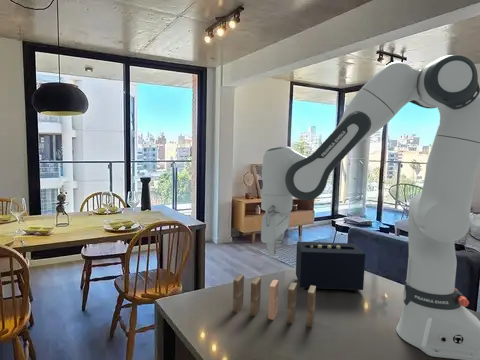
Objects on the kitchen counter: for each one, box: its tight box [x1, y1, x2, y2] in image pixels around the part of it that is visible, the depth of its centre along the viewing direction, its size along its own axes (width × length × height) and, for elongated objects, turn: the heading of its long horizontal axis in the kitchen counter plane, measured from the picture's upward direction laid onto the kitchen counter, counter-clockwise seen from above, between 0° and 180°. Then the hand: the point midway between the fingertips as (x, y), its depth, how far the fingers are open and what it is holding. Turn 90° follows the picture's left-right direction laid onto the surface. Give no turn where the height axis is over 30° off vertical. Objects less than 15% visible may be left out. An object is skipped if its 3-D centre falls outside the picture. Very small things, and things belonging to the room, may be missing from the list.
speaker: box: [295, 241, 366, 293], centre depth 124 cm, size 22×13×15 cm, turn 88°
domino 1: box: [232, 274, 245, 314], centre depth 105 cm, size 2×5×10 cm, turn 161°
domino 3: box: [267, 279, 280, 321], centre depth 102 cm, size 2×5×10 cm, turn 161°
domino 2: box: [249, 276, 262, 317], centre depth 103 cm, size 2×5×10 cm, turn 161°
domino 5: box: [306, 285, 317, 328], centre depth 98 cm, size 2×5×10 cm, turn 161°
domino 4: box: [286, 282, 298, 324], centre depth 100 cm, size 2×5×10 cm, turn 161°
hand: (275, 250), depth 100 cm, fingers open, 8 cm apart
